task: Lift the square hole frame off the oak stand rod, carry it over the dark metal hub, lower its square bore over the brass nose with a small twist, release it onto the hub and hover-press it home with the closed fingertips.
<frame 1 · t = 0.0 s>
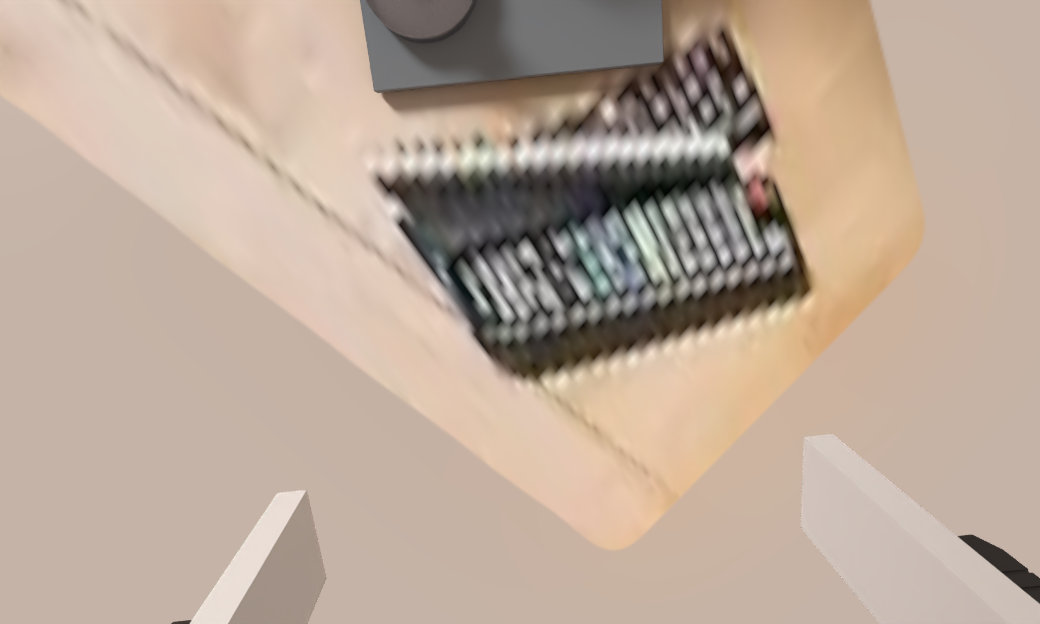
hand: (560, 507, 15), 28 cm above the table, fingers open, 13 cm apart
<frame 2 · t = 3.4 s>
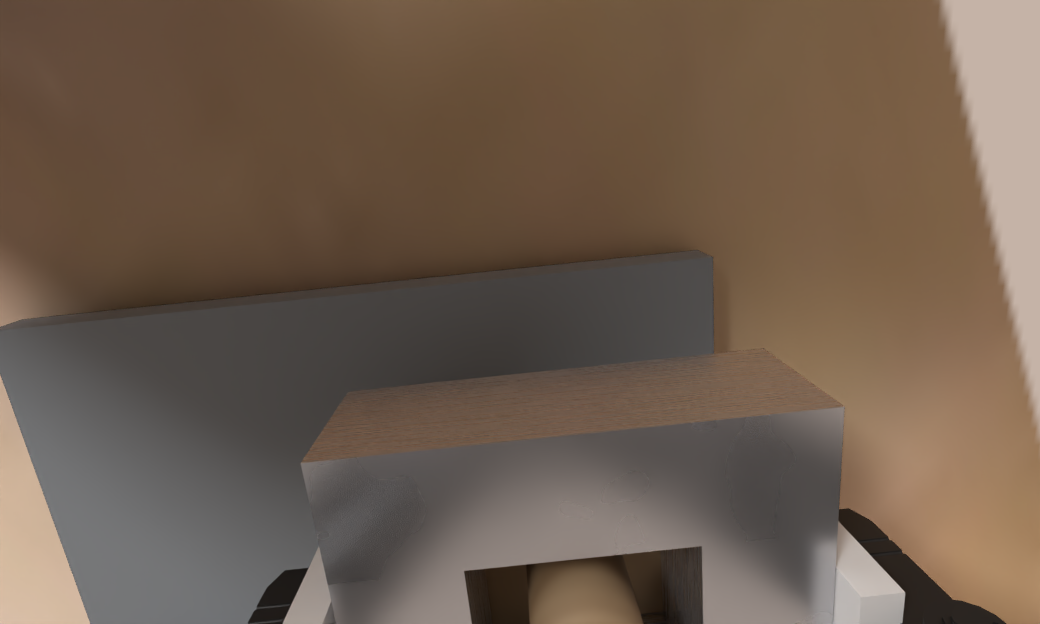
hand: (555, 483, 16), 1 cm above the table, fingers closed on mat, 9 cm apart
square hole frame: (571, 547, 13), point 4 cm above the table, touching stand
stand: (555, 457, 17), resting on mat
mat: (413, 582, 18), on the table
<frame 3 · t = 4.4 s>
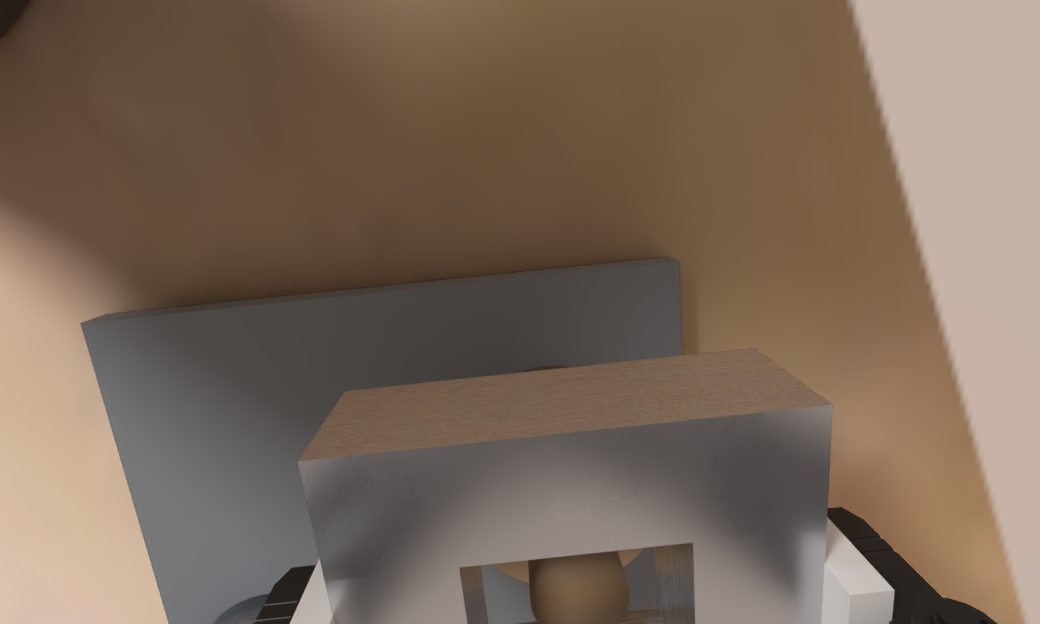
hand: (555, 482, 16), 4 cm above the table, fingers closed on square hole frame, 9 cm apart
square hole frame: (566, 545, 14), point 7 cm above the table, touching gripper
stand: (551, 433, 20), resting on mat
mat: (428, 543, 21), on the table
when the fingers open (2 cm above the table, at t = 9.0 s): square hole frame drops 1 cm, resting on hub.
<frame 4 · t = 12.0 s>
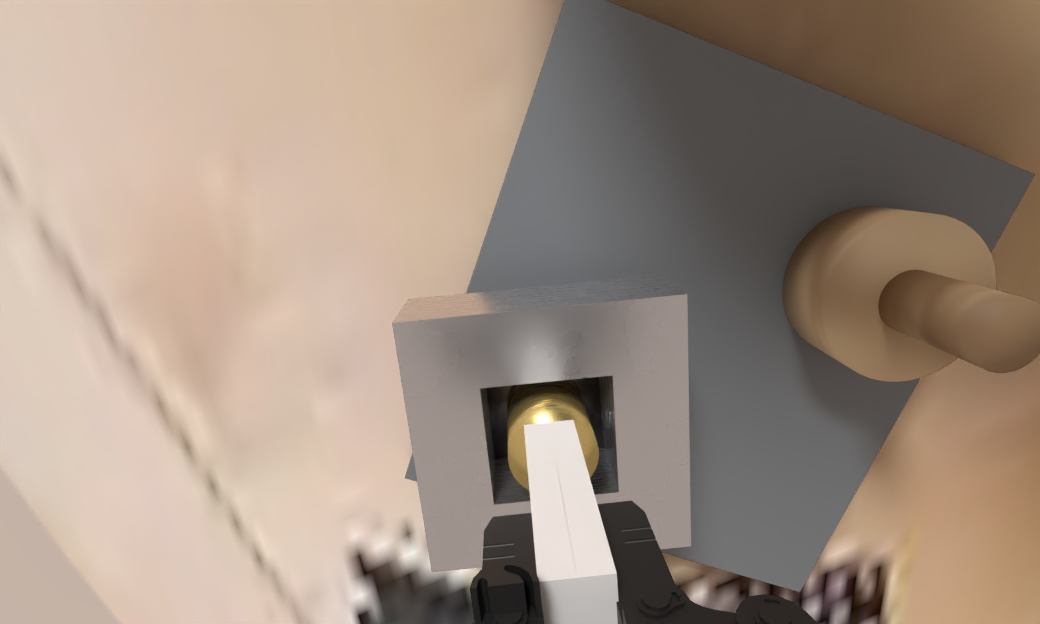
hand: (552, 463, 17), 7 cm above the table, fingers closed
square hole frame: (544, 403, 21), point 3 cm above the table, touching hub
hub: (538, 371, 24), resting on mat
stand: (839, 276, 24), resting on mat
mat: (692, 326, 24), on the table
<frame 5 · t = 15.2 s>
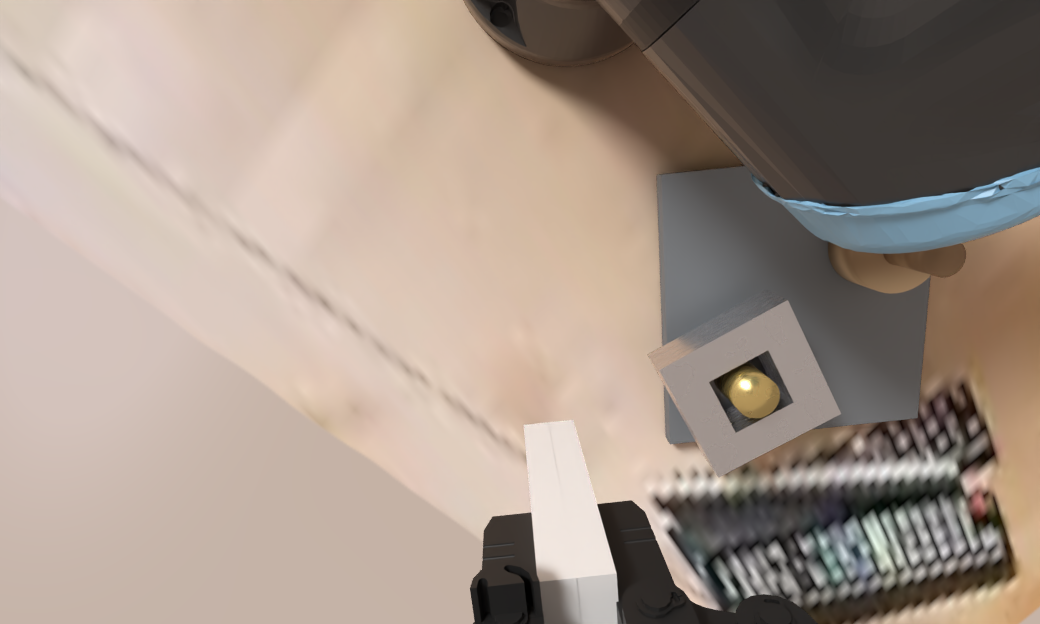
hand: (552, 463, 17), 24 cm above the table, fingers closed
square hole frame: (733, 375, 40), point 3 cm above the table, touching hub
hub: (715, 359, 43), resting on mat
stand: (859, 239, 41), resting on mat
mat: (789, 300, 42), on the table
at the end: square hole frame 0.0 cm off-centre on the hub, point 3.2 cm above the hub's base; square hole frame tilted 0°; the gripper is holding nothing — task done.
